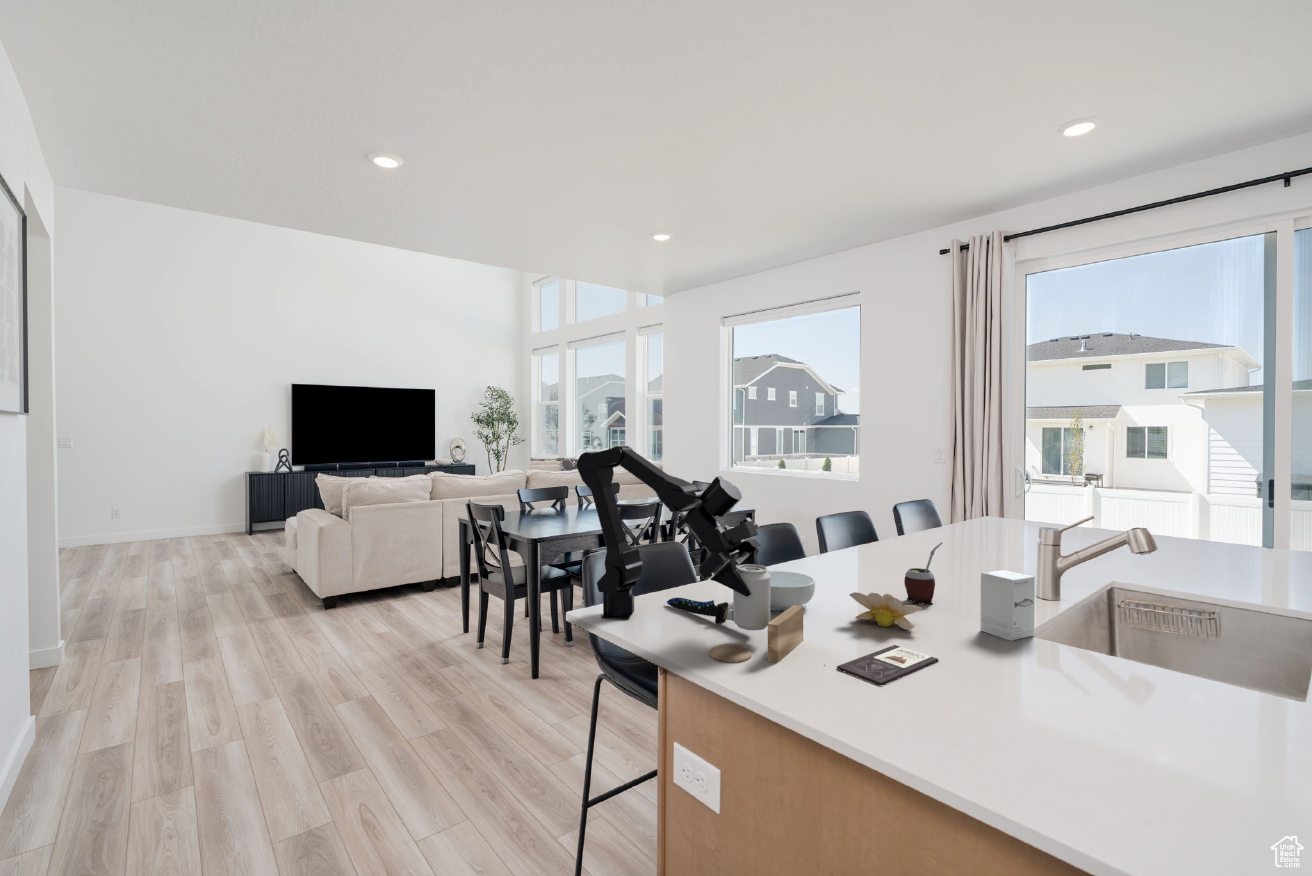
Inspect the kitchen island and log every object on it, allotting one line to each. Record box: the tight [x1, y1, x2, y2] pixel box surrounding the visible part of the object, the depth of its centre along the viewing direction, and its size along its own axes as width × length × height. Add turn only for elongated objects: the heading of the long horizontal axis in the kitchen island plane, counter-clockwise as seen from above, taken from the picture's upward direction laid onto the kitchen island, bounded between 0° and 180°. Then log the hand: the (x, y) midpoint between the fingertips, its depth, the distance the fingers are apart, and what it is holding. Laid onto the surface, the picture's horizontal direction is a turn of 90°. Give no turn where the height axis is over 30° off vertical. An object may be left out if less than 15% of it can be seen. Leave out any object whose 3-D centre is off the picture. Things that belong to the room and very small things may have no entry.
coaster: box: [709, 644, 752, 664], centre depth 116 cm, size 8×8×1 cm
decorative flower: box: [849, 592, 924, 631], centre depth 133 cm, size 15×11×10 cm
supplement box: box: [980, 569, 1036, 642], centre depth 126 cm, size 7×7×13 cm
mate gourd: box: [904, 542, 943, 606], centre depth 150 cm, size 8×8×15 cm
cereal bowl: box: [767, 570, 816, 611], centre depth 147 cm, size 17×17×7 cm
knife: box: [666, 597, 734, 625], centre depth 137 cm, size 31×3×4 cm, turn 37°
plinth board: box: [767, 605, 804, 664], centre depth 118 cm, size 2×14×7 cm, turn 147°
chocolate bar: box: [836, 644, 939, 686], centre depth 110 cm, size 9×1×18 cm
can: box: [732, 564, 771, 631], centre depth 122 cm, size 8×8×12 cm
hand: (757, 590), depth 121 cm, fingers closed on can, 7 cm apart
